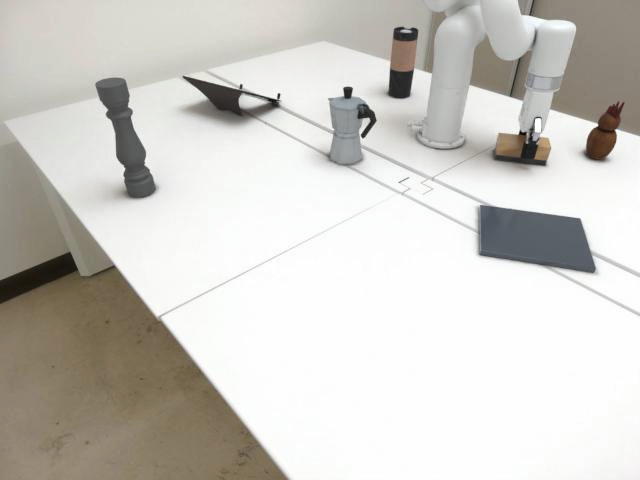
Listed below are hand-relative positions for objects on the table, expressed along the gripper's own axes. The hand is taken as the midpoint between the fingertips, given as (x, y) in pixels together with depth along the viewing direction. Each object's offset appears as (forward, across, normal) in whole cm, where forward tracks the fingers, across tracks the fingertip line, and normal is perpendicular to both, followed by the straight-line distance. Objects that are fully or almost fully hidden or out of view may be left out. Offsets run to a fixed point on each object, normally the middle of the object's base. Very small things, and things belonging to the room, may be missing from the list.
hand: (525, 149), depth 114 cm
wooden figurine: (+4, -6, +18) cm, 19 cm away
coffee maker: (+2, +11, -43) cm, 44 cm away
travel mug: (+1, -36, -36) cm, 51 cm away
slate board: (+3, +34, -1) cm, 34 cm away
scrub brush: (+3, 0, -1) cm, 3 cm away
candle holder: (0, +38, -86) cm, 94 cm away
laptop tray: (0, -13, -83) cm, 84 cm away
